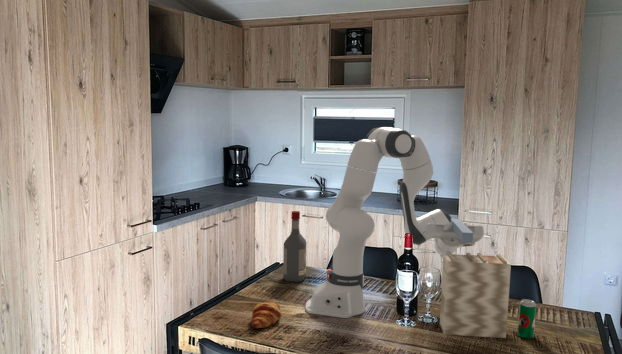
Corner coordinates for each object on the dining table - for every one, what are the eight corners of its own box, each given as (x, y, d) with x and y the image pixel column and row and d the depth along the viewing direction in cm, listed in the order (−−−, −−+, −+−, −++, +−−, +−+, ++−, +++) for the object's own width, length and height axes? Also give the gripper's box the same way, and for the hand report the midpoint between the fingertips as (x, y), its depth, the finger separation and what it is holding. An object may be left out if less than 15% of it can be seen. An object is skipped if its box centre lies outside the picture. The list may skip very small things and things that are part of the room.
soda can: (535, 340, 163) (538, 304, 162) (519, 338, 164) (521, 303, 163) (531, 333, 168) (534, 299, 167) (515, 332, 169) (518, 298, 168)
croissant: (269, 317, 187) (260, 298, 187) (292, 308, 184) (283, 288, 184) (247, 340, 166) (237, 318, 167) (273, 329, 164) (262, 307, 164)
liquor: (282, 281, 217) (283, 213, 214) (286, 274, 226) (287, 209, 223) (302, 282, 216) (304, 214, 212) (306, 276, 225) (307, 210, 221)
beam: (462, 241, 158) (462, 232, 158) (450, 226, 180) (450, 218, 180) (472, 242, 158) (473, 233, 158) (459, 227, 180) (459, 219, 179)
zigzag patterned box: (443, 334, 167) (447, 258, 164) (439, 323, 175) (443, 251, 172) (505, 338, 165) (511, 261, 162) (498, 326, 173) (503, 254, 170)
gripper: (422, 226, 189) (427, 214, 177) (477, 229, 187) (486, 217, 175) (422, 242, 187) (427, 231, 174) (478, 246, 185) (487, 235, 172)
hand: (457, 224), depth 175 cm, fingers closed on beam, 3 cm apart
